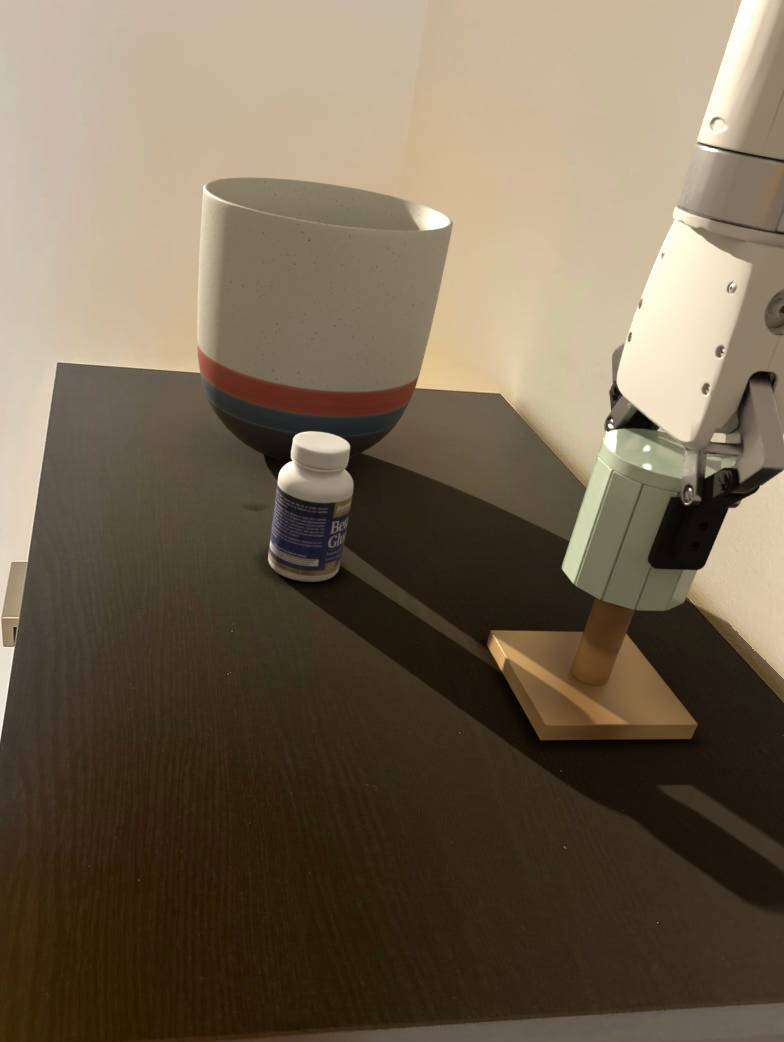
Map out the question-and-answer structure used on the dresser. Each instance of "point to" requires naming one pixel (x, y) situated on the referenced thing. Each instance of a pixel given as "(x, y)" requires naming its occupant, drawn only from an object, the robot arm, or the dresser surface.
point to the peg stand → (589, 682)
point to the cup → (629, 521)
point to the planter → (314, 308)
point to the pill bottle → (311, 508)
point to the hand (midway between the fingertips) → (641, 530)
